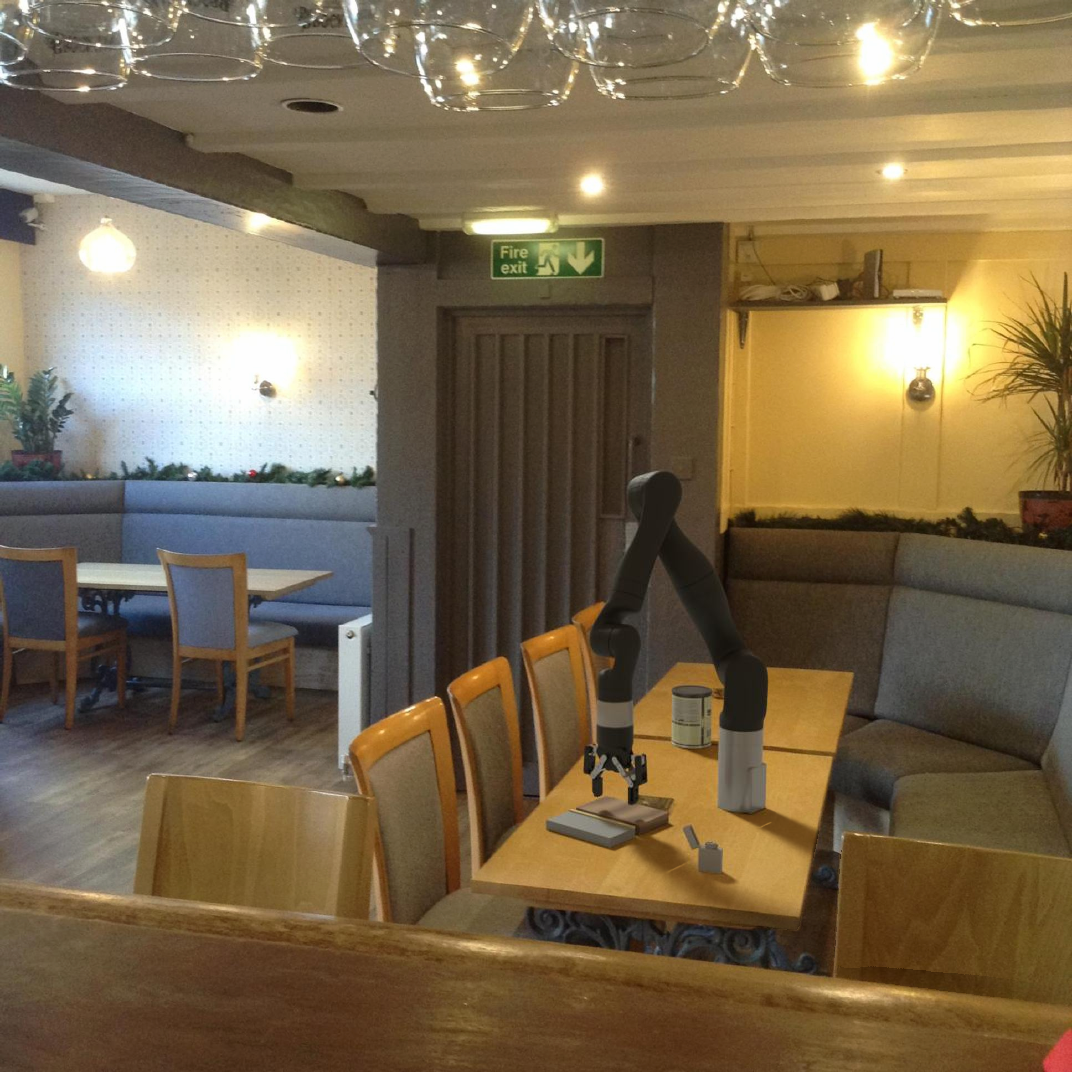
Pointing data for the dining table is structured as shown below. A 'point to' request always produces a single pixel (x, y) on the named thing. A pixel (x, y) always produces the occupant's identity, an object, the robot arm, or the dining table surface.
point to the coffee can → (691, 716)
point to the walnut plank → (626, 813)
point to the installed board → (591, 828)
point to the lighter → (705, 852)
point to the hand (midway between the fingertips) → (614, 800)
